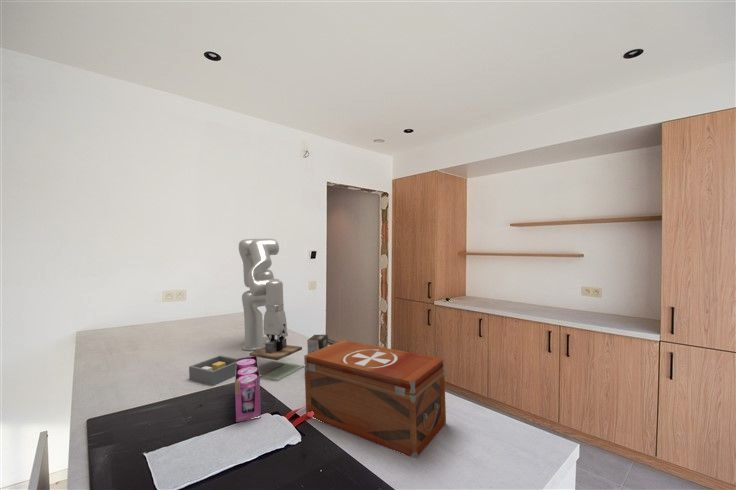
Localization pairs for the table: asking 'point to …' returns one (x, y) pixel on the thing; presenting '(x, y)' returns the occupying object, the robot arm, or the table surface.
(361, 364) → the wooden box
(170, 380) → the table surface
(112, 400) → the table surface
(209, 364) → the storage box
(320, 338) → the coffee box
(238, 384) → the gum box
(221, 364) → the ochre block
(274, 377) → the sage mat
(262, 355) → the lid
